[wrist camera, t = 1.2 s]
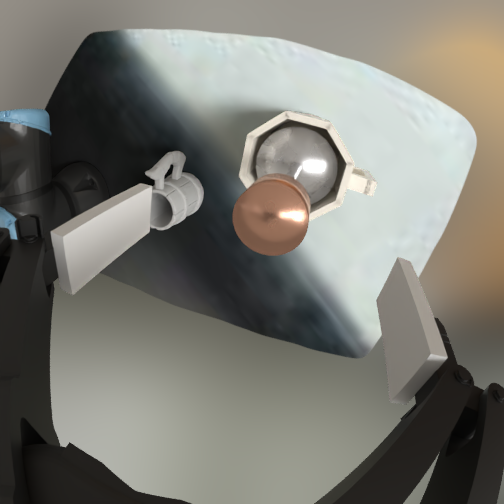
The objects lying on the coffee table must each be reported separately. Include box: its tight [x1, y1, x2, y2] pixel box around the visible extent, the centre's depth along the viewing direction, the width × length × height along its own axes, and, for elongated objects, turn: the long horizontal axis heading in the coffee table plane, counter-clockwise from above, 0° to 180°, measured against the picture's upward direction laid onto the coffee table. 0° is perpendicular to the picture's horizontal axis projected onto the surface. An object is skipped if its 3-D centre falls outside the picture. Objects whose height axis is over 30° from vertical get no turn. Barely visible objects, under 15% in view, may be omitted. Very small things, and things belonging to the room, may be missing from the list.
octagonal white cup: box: [239, 111, 377, 221], centre depth 36 cm, size 16×12×13 cm
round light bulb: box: [233, 127, 337, 255], centre depth 25 cm, size 9×9×18 cm
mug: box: [145, 151, 204, 230], centre depth 43 cm, size 8×12×12 cm, turn 174°
